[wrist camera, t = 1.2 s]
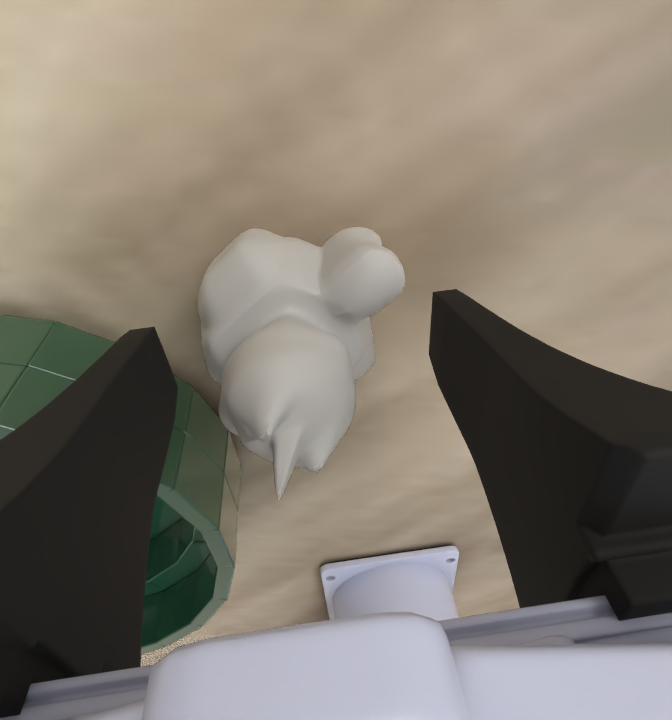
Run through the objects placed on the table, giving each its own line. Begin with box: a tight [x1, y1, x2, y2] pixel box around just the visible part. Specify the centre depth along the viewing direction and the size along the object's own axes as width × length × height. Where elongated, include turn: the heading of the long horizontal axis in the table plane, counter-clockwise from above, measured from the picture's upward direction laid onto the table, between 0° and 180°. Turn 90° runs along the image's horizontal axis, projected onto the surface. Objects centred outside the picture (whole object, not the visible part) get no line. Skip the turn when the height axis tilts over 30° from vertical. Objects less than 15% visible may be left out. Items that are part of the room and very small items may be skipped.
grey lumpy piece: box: [197, 226, 405, 502], centre depth 12 cm, size 5×7×8 cm
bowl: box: [0, 315, 241, 654], centre depth 17 cm, size 15×15×5 cm
